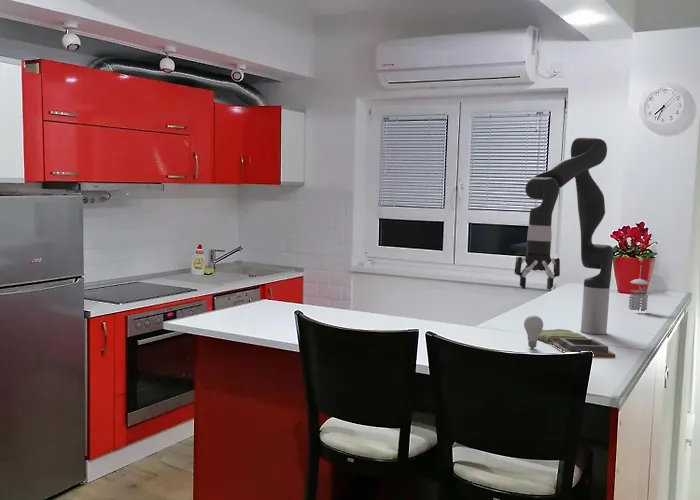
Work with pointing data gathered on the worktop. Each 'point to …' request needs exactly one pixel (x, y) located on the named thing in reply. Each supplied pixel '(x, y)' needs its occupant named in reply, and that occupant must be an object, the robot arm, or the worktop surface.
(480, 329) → the worktop surface
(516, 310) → the worktop surface
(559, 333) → the washcloth
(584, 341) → the socket stand
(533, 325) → the lightbulb
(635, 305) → the french press
